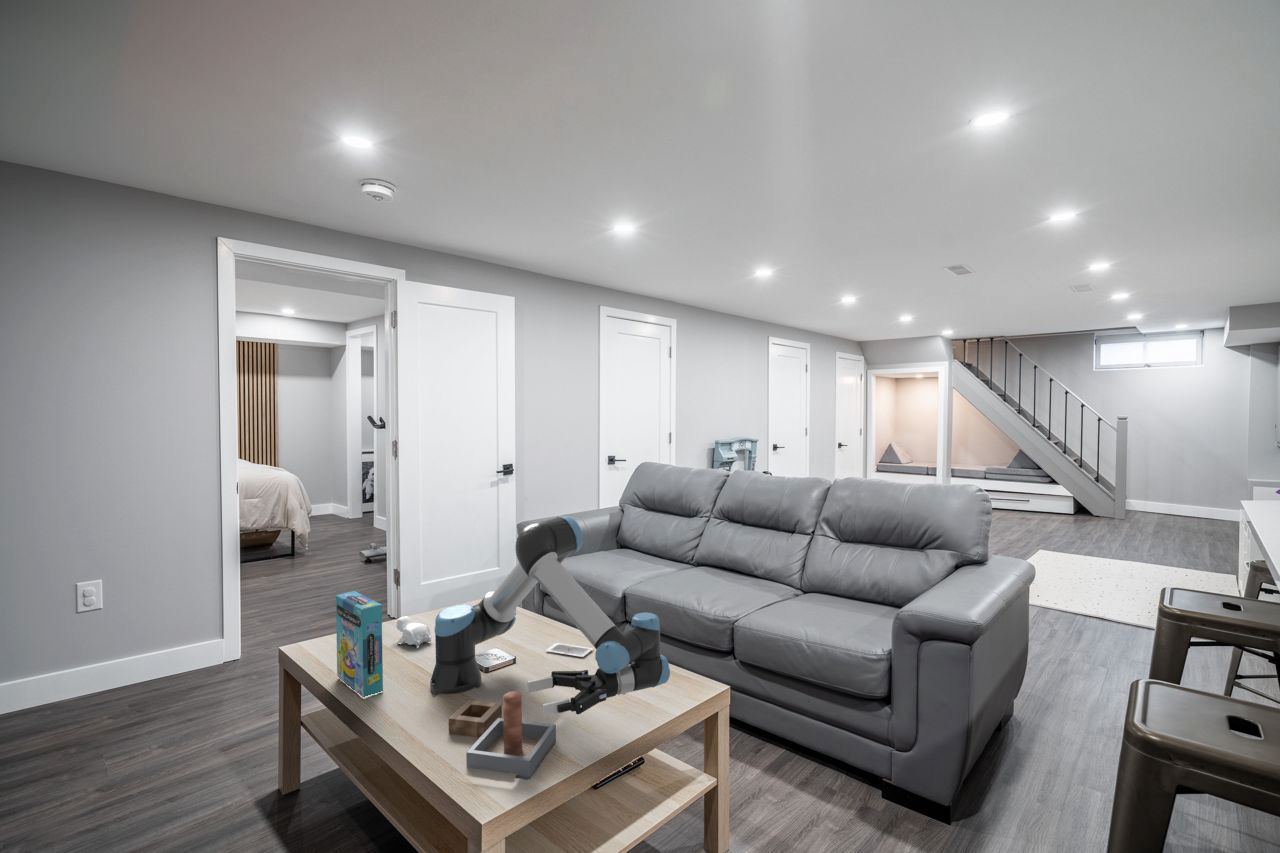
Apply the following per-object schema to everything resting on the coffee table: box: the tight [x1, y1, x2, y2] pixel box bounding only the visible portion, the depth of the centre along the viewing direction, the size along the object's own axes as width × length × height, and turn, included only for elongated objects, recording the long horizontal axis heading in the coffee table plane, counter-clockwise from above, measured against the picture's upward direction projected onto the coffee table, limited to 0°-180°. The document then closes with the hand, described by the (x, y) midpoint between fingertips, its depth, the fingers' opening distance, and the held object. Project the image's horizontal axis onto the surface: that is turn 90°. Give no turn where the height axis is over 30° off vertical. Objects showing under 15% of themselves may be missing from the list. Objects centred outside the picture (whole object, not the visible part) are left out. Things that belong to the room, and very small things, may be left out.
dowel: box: [502, 691, 523, 756], centre depth 144 cm, size 4×4×14 cm
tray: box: [465, 717, 557, 780], centre depth 144 cm, size 16×16×4 cm
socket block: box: [448, 699, 503, 739], centre depth 156 cm, size 10×10×5 cm
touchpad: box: [545, 642, 594, 658], centre depth 207 cm, size 8×15×2 cm, turn 68°
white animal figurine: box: [395, 615, 433, 647], centre depth 218 cm, size 9×8×15 cm
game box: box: [335, 590, 384, 697], centre depth 182 cm, size 20×6×27 cm, turn 47°
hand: (535, 698), depth 146 cm, fingers open, 13 cm apart
